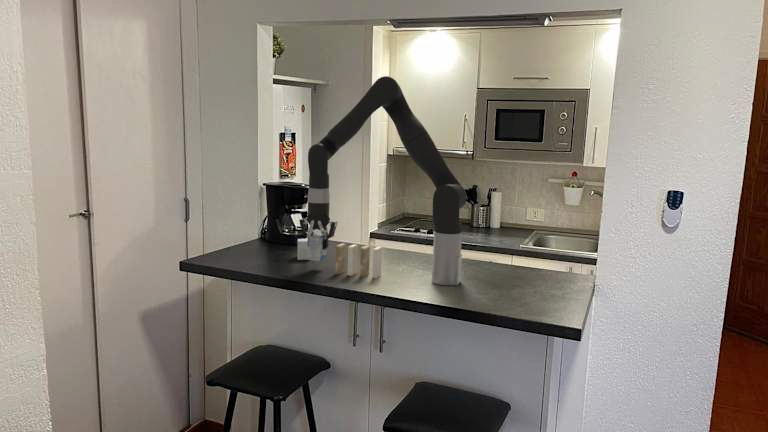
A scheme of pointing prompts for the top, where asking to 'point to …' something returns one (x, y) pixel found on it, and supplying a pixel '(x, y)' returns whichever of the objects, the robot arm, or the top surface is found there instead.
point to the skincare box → (303, 249)
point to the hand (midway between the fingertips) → (317, 248)
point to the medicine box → (316, 247)
